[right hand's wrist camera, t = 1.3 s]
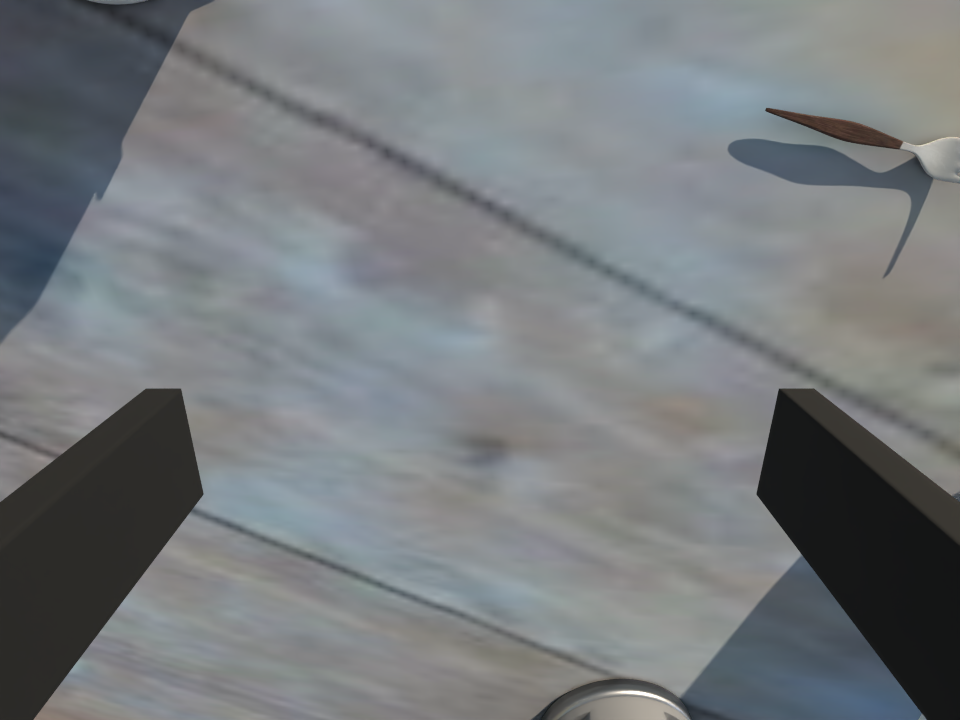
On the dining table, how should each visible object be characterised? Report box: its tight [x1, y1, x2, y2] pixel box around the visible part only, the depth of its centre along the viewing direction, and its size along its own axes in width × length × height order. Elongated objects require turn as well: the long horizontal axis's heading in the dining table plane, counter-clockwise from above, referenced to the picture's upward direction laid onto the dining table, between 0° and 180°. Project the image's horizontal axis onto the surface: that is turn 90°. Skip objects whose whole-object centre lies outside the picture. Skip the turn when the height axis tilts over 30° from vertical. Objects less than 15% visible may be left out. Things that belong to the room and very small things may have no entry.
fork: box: [765, 108, 960, 183], centre depth 36 cm, size 3×16×2 cm, turn 77°
